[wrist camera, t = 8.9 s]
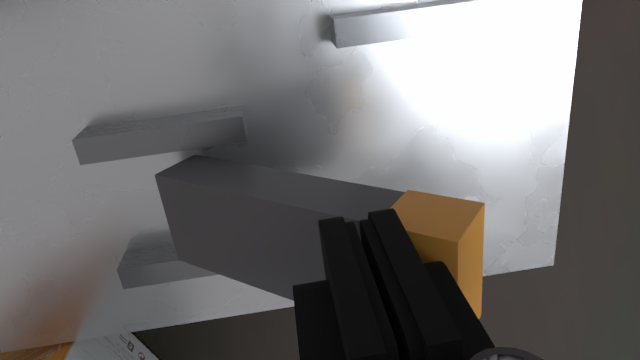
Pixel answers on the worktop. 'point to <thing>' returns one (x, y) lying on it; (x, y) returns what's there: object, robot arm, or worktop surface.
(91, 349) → the small box
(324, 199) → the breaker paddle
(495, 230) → the panel
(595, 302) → the worktop surface
